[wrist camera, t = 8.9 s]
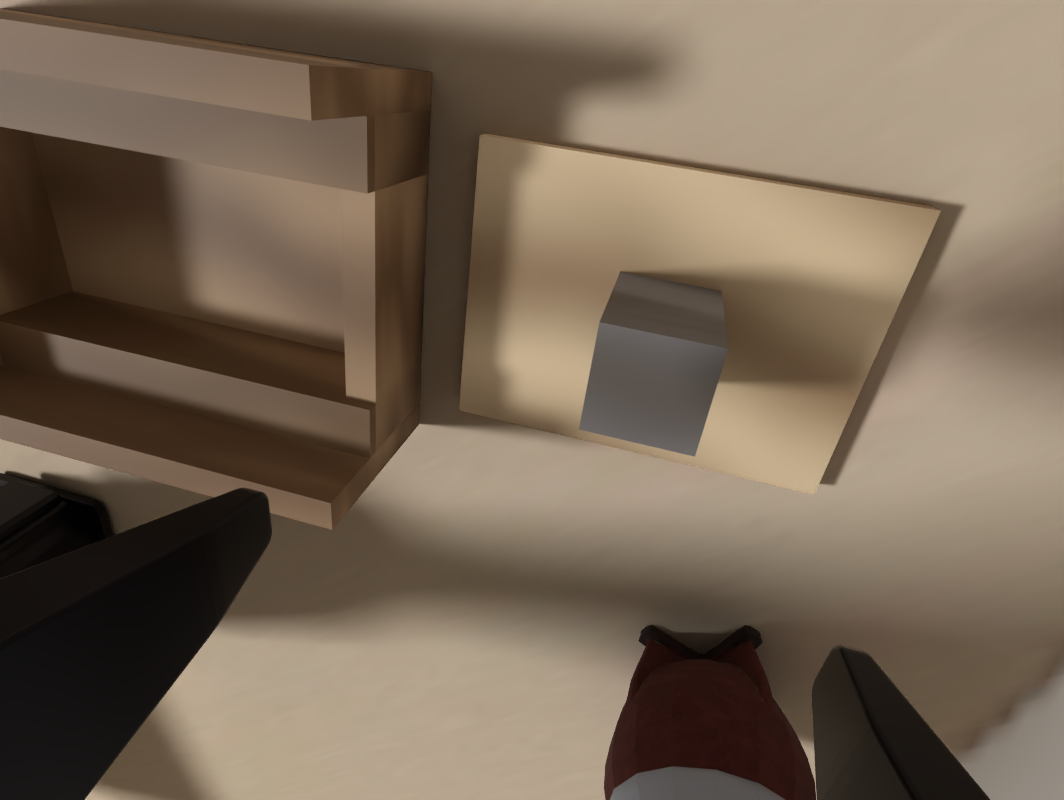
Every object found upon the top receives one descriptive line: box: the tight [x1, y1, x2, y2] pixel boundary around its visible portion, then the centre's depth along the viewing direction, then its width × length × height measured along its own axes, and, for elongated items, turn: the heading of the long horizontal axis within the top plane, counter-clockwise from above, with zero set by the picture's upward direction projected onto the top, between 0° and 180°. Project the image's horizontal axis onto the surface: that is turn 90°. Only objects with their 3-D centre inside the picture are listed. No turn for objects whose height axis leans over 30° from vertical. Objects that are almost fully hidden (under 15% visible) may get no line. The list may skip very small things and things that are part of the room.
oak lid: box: [459, 134, 941, 495], centre depth 17 cm, size 9×12×6 cm
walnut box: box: [0, 9, 432, 530], centre depth 19 cm, size 12×15×6 cm
